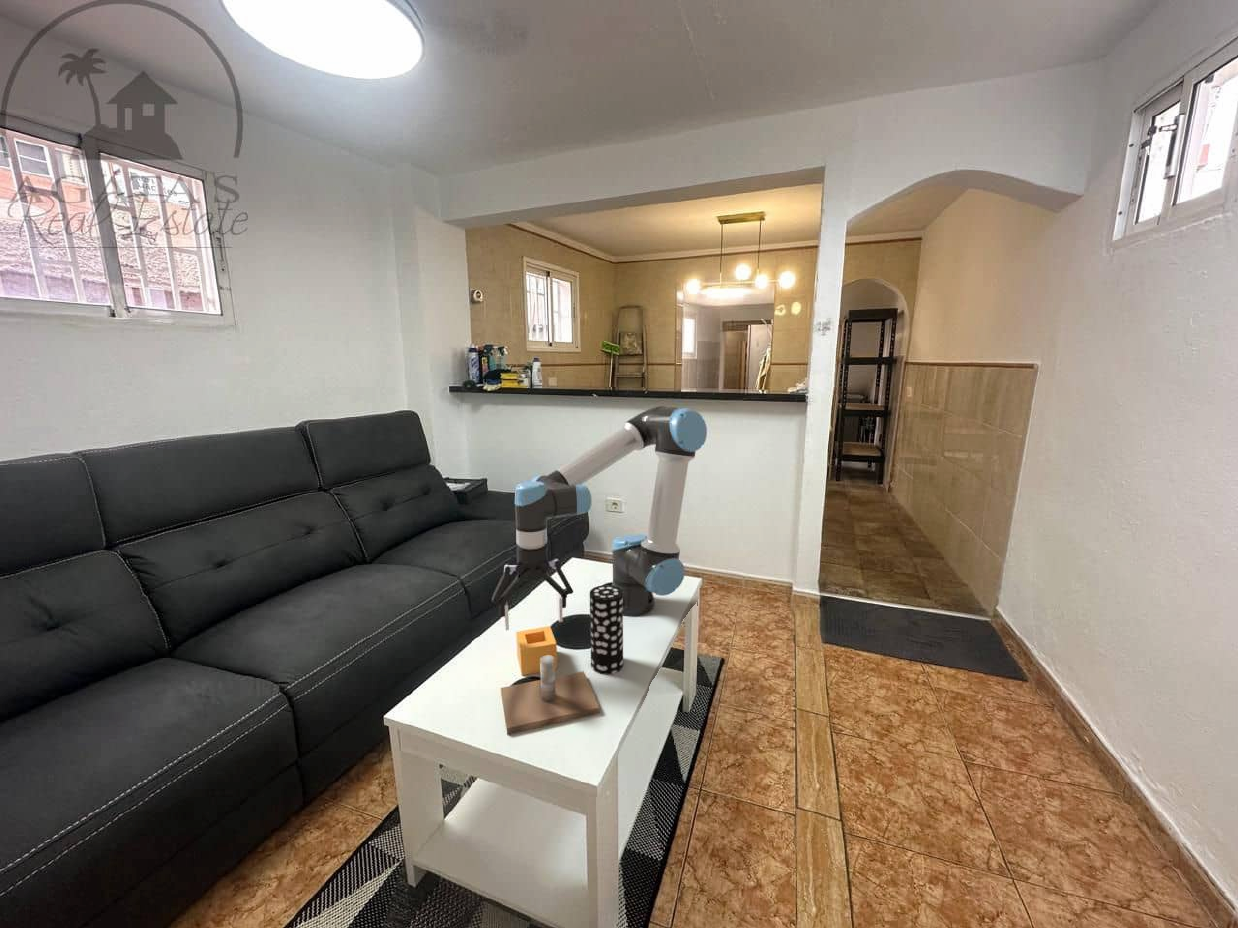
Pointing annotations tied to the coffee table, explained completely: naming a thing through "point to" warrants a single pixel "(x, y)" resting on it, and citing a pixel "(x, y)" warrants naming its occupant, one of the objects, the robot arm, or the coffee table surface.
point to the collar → (535, 648)
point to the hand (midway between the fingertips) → (533, 623)
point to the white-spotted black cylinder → (606, 629)
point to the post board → (547, 712)
